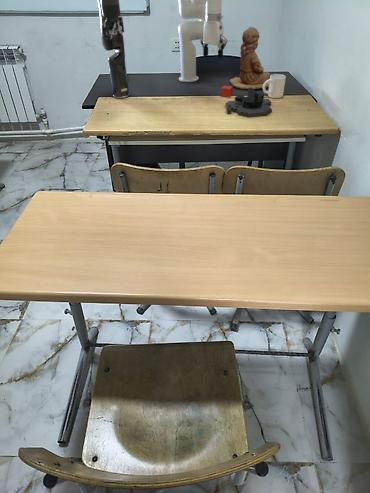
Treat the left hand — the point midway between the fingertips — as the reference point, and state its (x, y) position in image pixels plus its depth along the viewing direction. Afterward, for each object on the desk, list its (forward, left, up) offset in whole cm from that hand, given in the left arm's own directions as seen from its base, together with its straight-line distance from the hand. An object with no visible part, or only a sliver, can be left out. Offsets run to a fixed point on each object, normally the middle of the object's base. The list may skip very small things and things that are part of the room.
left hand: (115, 46), depth 160 cm
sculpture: (-15, +85, -32) cm, 92 cm away
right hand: (-1, +50, -10) cm, 51 cm away
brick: (-3, +61, -32) cm, 69 cm away
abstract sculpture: (+22, +60, -32) cm, 71 cm away
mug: (+11, +82, -32) cm, 89 cm away
